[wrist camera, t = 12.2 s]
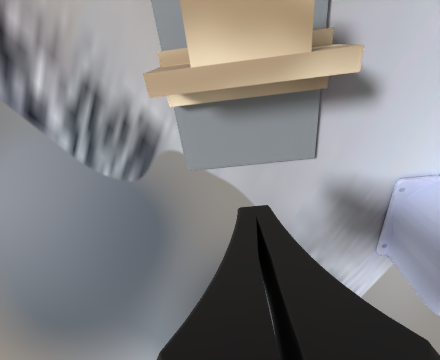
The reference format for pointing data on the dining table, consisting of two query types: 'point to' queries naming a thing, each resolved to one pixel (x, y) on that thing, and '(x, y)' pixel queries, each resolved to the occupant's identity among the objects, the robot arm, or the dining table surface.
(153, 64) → the dining table surface
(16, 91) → the dining table surface
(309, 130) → the slate mat
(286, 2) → the wooden stand
